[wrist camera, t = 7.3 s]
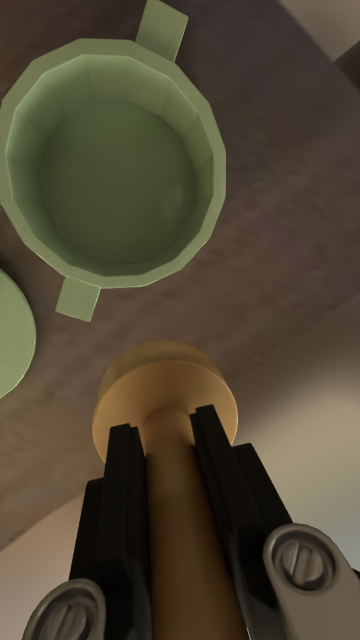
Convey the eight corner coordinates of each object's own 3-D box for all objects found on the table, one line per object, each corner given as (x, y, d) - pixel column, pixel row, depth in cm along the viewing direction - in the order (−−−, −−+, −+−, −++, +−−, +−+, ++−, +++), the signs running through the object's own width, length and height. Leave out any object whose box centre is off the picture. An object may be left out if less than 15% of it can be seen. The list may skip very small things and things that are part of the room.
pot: (239, 104, 26) (279, 58, 19) (158, 320, 30) (166, 349, 23) (69, 17, 23) (40, -77, 16) (5, 269, 27) (-41, 286, 20)
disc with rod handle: (242, 359, 13) (452, 626, 4) (198, 462, 14) (294, 833, 5) (120, 322, 12) (82, 579, 3) (83, 436, 13) (-20, 850, 4)
